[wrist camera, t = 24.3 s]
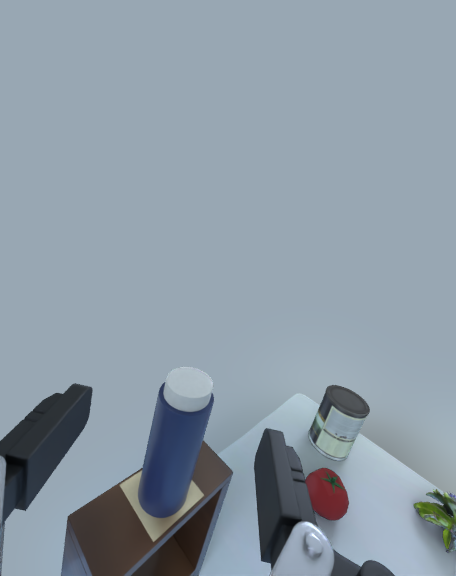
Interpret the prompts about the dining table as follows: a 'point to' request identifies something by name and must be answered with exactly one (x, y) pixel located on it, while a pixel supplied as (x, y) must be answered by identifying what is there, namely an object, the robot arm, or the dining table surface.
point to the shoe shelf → (146, 528)
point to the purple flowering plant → (441, 515)
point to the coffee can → (338, 422)
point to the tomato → (327, 494)
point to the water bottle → (175, 441)
